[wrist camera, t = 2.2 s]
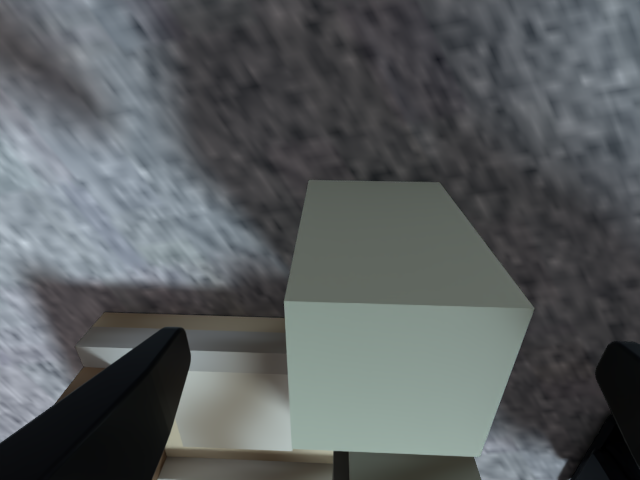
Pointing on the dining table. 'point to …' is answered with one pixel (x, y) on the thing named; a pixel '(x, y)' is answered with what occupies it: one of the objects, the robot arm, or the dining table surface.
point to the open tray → (243, 406)
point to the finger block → (396, 322)
